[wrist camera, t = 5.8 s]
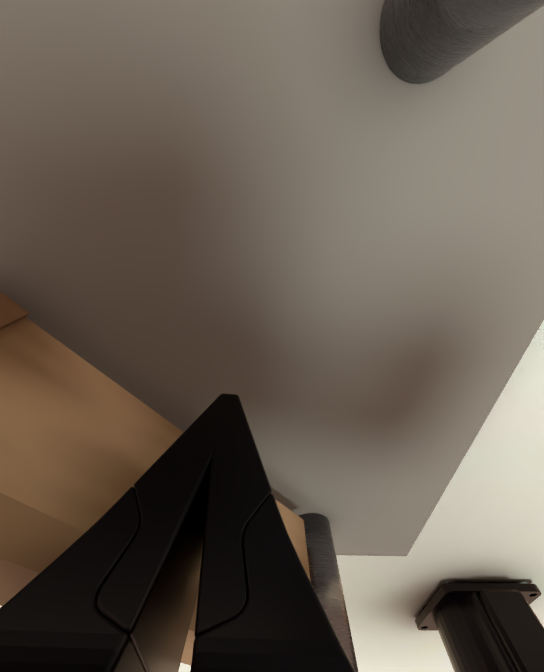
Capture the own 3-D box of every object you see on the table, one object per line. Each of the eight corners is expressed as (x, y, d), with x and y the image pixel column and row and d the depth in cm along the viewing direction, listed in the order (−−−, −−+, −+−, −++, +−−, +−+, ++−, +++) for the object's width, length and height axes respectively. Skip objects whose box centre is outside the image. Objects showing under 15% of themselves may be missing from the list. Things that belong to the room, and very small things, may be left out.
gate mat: (403, 548, 16) (406, 556, 15) (13, 541, 15) (7, 549, 14) (791, -153, 5) (832, -180, 5) (-611, -365, 4) (-704, -426, 3)
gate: (308, 517, 12) (331, 693, 8) (278, 531, 13) (284, 705, 9) (-28, 266, 7) (-533, 388, 3) (-58, 308, 8) (-522, 468, 3)
